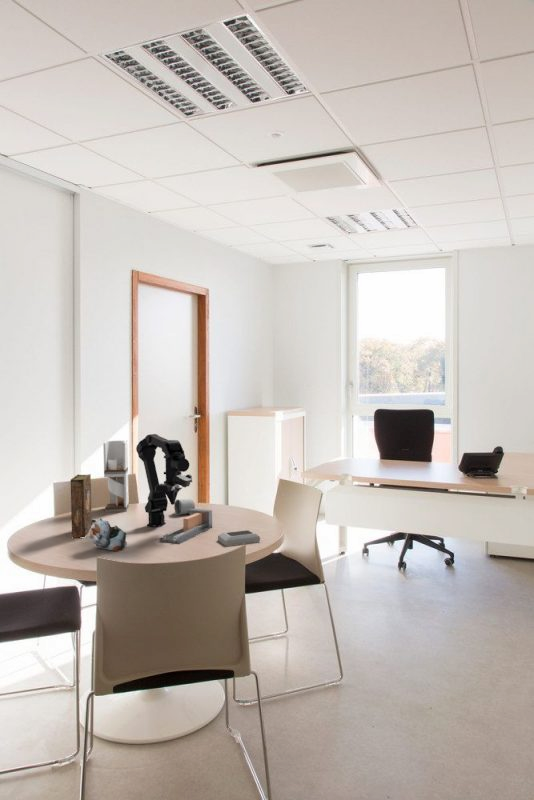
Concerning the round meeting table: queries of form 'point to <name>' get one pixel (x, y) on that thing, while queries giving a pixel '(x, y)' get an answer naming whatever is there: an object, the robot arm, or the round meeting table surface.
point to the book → (81, 505)
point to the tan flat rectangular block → (192, 521)
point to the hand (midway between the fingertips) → (172, 504)
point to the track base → (182, 536)
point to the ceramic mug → (183, 506)
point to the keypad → (238, 537)
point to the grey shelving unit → (116, 474)
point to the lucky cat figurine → (107, 535)
